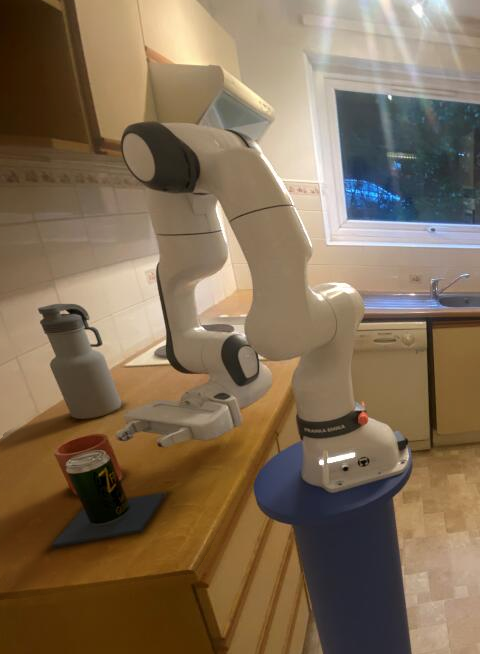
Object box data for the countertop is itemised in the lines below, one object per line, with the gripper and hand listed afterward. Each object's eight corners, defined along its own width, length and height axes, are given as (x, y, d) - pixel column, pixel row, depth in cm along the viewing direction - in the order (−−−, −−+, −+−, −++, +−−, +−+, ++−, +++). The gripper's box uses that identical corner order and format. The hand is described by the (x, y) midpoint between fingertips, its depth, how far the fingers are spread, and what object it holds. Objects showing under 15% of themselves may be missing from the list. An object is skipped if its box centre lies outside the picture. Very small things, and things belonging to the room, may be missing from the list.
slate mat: (165, 495, 82) (164, 492, 82) (141, 532, 73) (140, 529, 73) (87, 507, 79) (86, 504, 78) (52, 548, 70) (51, 545, 70)
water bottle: (96, 401, 117) (55, 300, 106) (133, 401, 117) (96, 300, 106) (60, 420, 108) (12, 311, 97) (100, 420, 108) (56, 311, 97)
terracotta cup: (129, 469, 89) (114, 431, 86) (111, 491, 83) (94, 451, 79) (85, 475, 87) (68, 437, 84) (63, 498, 81) (43, 458, 77)
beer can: (85, 531, 72) (57, 471, 68) (97, 510, 77) (72, 453, 72) (125, 521, 74) (100, 463, 70) (135, 502, 79) (112, 446, 74)
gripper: (161, 388, 92) (89, 419, 80) (241, 397, 88) (178, 432, 75) (170, 414, 95) (101, 448, 82) (249, 425, 90) (189, 462, 78)
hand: (139, 440), depth 79 cm, fingers open, 8 cm apart
